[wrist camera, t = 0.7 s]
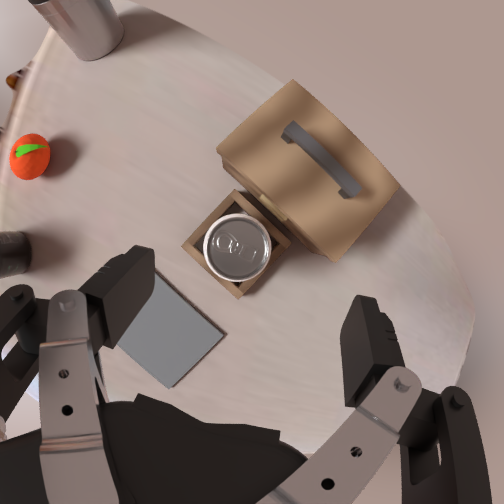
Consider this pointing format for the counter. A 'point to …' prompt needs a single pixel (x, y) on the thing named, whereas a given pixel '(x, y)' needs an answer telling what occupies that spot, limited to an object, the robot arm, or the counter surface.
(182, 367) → the mat
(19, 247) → the supplement bottle
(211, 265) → the can
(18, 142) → the clementine
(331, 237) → the toolbox
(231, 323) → the counter surface
